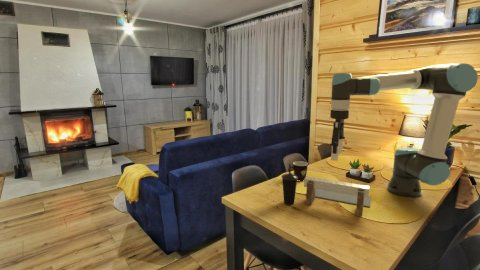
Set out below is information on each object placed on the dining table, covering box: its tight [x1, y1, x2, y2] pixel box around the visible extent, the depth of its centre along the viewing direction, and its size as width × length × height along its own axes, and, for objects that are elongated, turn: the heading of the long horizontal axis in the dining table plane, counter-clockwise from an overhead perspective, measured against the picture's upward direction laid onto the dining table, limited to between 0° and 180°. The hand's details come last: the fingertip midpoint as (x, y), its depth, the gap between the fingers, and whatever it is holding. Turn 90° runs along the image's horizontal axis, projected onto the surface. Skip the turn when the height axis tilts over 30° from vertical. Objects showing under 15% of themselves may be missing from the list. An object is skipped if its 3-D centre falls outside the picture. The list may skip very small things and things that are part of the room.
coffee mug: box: [288, 160, 309, 182], centre depth 155 cm, size 12×9×10 cm
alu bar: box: [303, 175, 370, 198], centre depth 120 cm, size 28×4×4 cm, turn 62°
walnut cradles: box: [305, 182, 364, 217], centre depth 121 cm, size 24×8×11 cm, turn 62°
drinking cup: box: [281, 163, 298, 206], centre depth 124 cm, size 8×8×20 cm
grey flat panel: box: [315, 189, 372, 208], centre depth 133 cm, size 30×12×1 cm, turn 62°
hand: (336, 156), depth 117 cm, fingers open, 13 cm apart
